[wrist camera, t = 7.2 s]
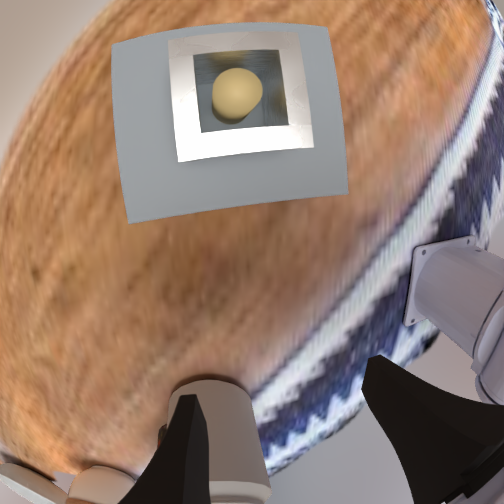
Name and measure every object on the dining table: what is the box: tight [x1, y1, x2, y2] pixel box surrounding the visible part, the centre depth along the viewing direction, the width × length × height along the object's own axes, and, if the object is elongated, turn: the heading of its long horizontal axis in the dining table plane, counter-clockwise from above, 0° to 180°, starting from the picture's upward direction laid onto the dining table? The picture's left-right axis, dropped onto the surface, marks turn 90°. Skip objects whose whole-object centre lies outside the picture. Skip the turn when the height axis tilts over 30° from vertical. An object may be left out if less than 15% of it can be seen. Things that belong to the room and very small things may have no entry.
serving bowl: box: [0, 463, 68, 504], centre depth 25 cm, size 21×21×7 cm
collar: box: [168, 31, 314, 162], centre depth 12 cm, size 6×6×5 cm
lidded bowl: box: [65, 465, 135, 504], centre depth 21 cm, size 13×13×11 cm
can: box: [167, 379, 272, 504], centre depth 17 cm, size 8×8×12 cm
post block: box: [112, 22, 348, 224], centre depth 13 cm, size 14×12×5 cm
